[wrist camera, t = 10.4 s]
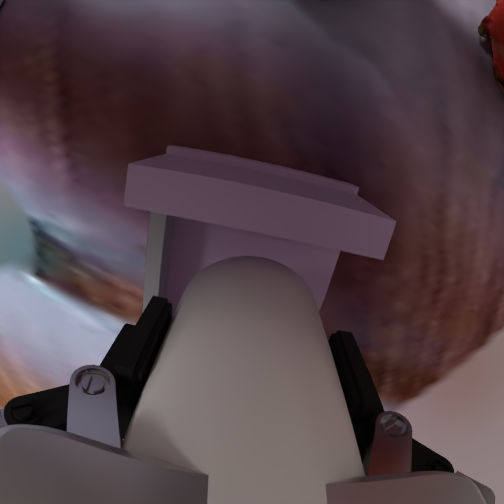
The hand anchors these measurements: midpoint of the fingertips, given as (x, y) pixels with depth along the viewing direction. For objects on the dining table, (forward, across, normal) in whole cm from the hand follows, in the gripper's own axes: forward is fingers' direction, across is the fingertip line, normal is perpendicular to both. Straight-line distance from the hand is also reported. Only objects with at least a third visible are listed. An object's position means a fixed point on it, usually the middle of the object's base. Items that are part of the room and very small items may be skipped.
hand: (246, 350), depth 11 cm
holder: (+8, +1, 0) cm, 8 cm away
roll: (+2, 0, 0) cm, 2 cm away
